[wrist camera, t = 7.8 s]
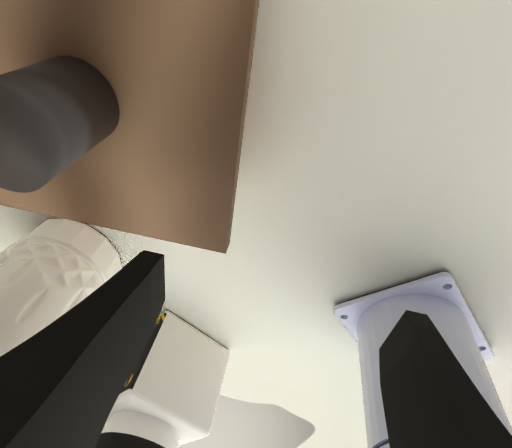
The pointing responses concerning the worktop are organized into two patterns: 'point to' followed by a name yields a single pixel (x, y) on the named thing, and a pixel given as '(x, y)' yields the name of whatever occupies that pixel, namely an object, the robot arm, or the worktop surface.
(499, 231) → the worktop surface
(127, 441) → the medicine bottle
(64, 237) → the white cup
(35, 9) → the lid
